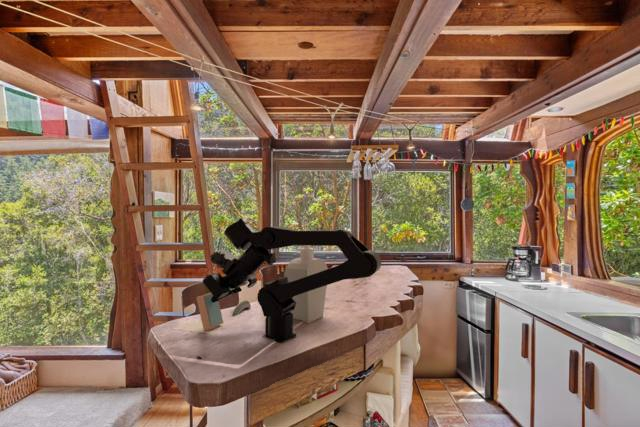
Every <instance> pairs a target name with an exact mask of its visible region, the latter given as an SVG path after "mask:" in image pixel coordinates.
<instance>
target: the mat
mask: <svg viewBox="0 0 640 427" xmlns="http://www.w3.org/2000/svg"><path fill="white" fill-rule="evenodd" d="M229 325H230V323H225V322H223V324H220V325H218V326H216V327H214V328H212V329H209V330H204V329H203V325H202V320H197V319H196V320H195V319H193V320H191V321H189V322H186V323H183V324H181V325H179V326H175V327H174V328H172V330H176V331H184V332H185V331H186V332H194V333H199V334H200V333H201V334H213V333H215V332H217V331H218V330H221V329H223V328H225V327H227V326H229Z"/></svg>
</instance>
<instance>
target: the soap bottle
mask: <svg viewBox="0 0 640 427" xmlns="http://www.w3.org/2000/svg"><path fill="white" fill-rule="evenodd" d="M299 250H300V255H299V256H300V257H299V258H293V259H292V260H291V261H290V262H289V263H288V265H287V266H286V267H285V270H284V273H283V276H284V277H286V276H287V278H288V281H294V280H298V279H300V278H303V277H306V276H309V275H312V274H315V273H318V272H320V271H323V270H326V269H329V268H328V265H327V264H326V263H325V261H324V260H322V259H321V258H315V256H314V248H312V247H311V245H303V247H301V248H299ZM327 286H328V285H326V286H323V287H320V288H317V289H314V290H311V291H308V292H305V293H302V294H299V295H296V296H294V297H292V298H293V300H294V301H295V302H296V306H295V309H294V310H293V311H291V313H293V320H301V321H300V322H301V323H306V324H310V323H312V322H313V321H316V320H319V319H321V318H323V317H324V312H325V311H324V310H325V301H326V294H327V288H328V287H327Z"/></svg>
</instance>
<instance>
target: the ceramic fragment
mask: <svg viewBox="0 0 640 427" xmlns="http://www.w3.org/2000/svg"><path fill="white" fill-rule="evenodd" d="M251 307H252V304H251V303H250V301H248V300H243V301H241V302H240V303H238V304H237V305H236V306H235V307H234V308H233V309H232V310H229V314H231V316H232V317H236V316H238V315H239V314H240V313H241V312H242V311H243V310H244V309H251Z"/></svg>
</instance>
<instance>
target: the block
mask: <svg viewBox="0 0 640 427" xmlns="http://www.w3.org/2000/svg"><path fill="white" fill-rule="evenodd" d="M212 296H213V295H212V293H211V292H208V293H205V294H203V295H199V296H196V301H197V305H198V309H199V310H198V311H199V316H200V319H201V320H200V321H202V325H203V329H204V330H209V329H212V328H214V327H216V326H218V325H220V324H223V323H224V320H223V315H222V311H221V307H220V306H221V305H220V302H219V301H220V300H219V301H217V302H214V303H213V302H212V301H211V299H212Z"/></svg>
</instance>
